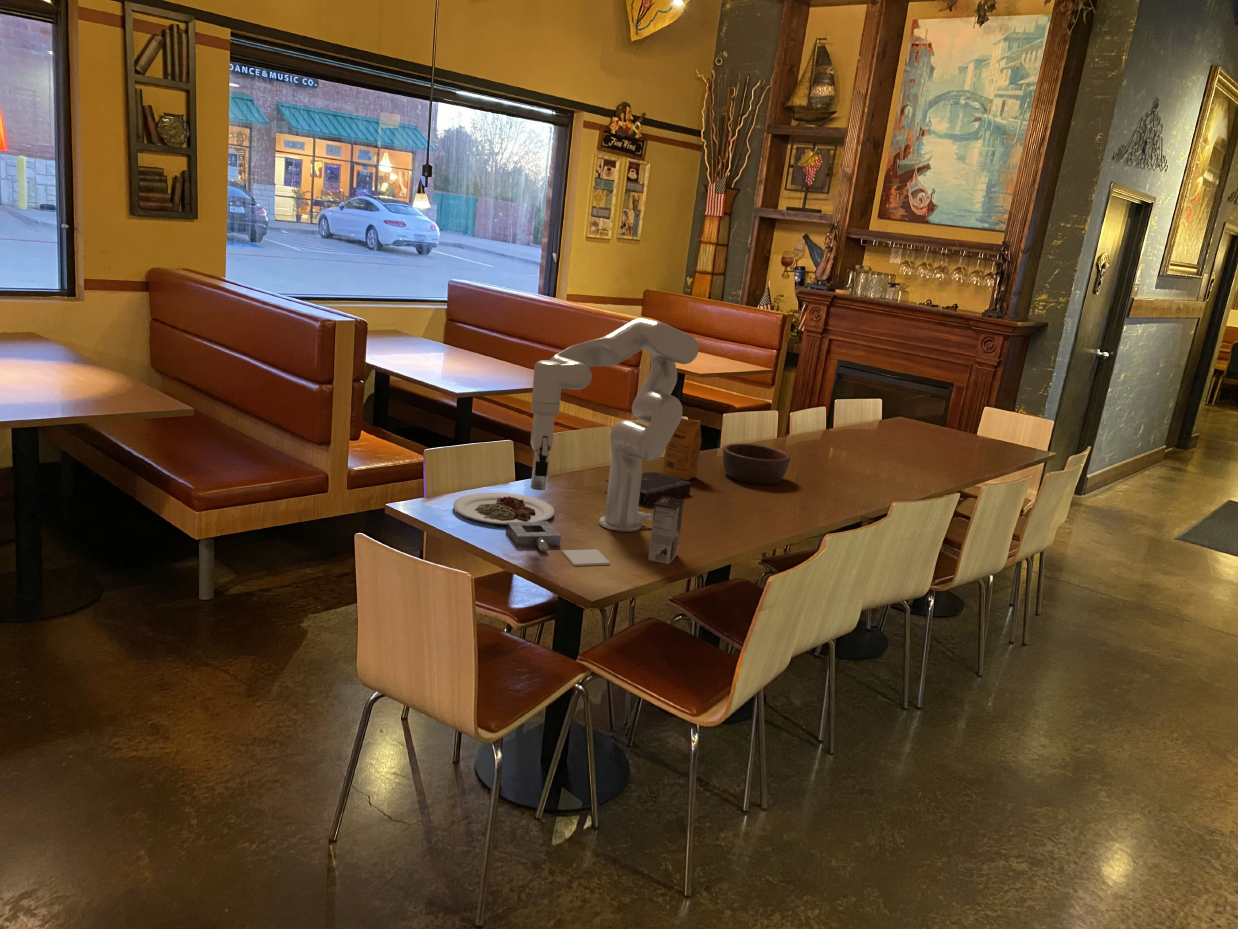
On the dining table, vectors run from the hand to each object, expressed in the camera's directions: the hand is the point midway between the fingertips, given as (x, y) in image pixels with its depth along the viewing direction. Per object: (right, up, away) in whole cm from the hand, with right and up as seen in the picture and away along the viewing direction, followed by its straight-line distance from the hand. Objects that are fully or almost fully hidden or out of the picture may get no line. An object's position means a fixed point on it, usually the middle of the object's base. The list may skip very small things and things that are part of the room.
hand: (539, 472), depth 255 cm
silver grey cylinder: (-1, -4, +1) cm, 4 cm away
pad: (+13, -23, -6) cm, 27 cm away
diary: (+31, -8, +62) cm, 70 cm away
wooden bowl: (+72, -3, +99) cm, 122 cm away
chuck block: (-2, -19, +3) cm, 19 cm away
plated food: (-13, -12, +26) cm, 31 cm away
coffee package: (+43, -2, +89) cm, 99 cm away
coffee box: (+33, -23, +2) cm, 41 cm away
